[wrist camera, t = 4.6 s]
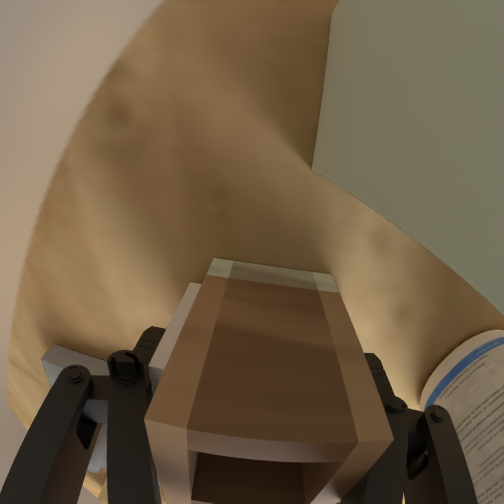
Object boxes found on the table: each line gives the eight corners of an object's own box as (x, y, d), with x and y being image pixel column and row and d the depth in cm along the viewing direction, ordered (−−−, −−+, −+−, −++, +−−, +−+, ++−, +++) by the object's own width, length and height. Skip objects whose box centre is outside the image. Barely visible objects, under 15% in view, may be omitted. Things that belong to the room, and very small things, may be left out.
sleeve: (305, 363, 17) (322, 516, 8) (206, 350, 17) (165, 501, 8) (331, 274, 15) (394, 439, 6) (213, 257, 15) (144, 418, 6)
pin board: (182, 476, 24) (170, 530, 17) (96, 451, 24) (74, 498, 17) (175, 378, 18) (145, 463, 12) (54, 343, 18) (5, 402, 12)
